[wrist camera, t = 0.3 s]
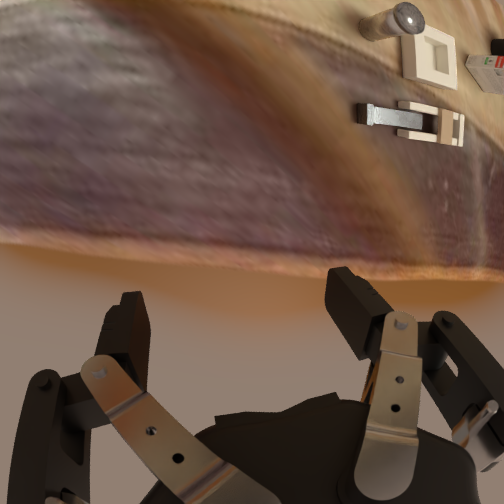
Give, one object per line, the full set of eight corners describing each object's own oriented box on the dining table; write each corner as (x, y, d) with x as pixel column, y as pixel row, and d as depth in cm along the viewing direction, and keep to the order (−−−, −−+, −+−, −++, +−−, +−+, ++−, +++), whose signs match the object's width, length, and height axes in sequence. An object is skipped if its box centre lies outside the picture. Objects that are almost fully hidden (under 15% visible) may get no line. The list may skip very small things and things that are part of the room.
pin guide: (398, 100, 38) (413, 101, 34) (452, 113, 40) (467, 116, 36) (397, 136, 40) (412, 139, 37) (451, 143, 42) (465, 147, 39)
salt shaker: (355, 13, 30) (395, -3, 22) (381, 20, 31) (422, 8, 22) (357, 40, 32) (399, 28, 24) (383, 46, 33) (426, 38, 24)
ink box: (468, 54, 35) (526, 56, 22) (487, 80, 38) (542, 89, 25) (463, 66, 36) (523, 70, 23) (483, 92, 39) (539, 102, 26)
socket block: (399, 22, 31) (412, 19, 28) (440, 39, 33) (454, 37, 30) (402, 77, 36) (416, 77, 33) (443, 89, 37) (457, 90, 34)
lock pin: (357, 103, 37) (367, 103, 34) (412, 111, 39) (423, 113, 36) (357, 123, 38) (367, 124, 36) (411, 129, 40) (422, 131, 37)
